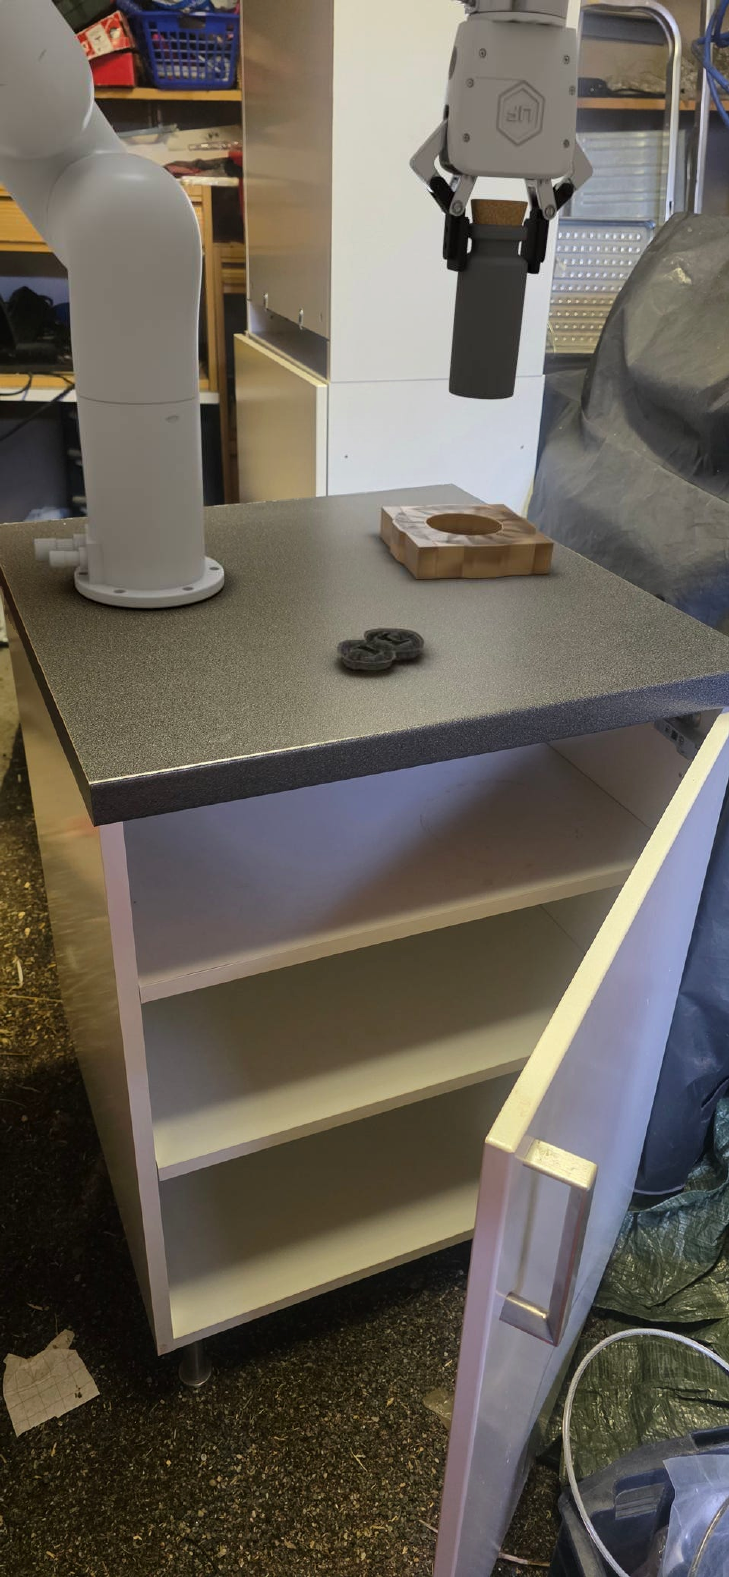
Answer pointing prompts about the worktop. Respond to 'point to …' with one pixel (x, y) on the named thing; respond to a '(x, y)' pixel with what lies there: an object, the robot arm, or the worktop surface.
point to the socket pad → (464, 541)
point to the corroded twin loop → (380, 648)
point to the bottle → (490, 303)
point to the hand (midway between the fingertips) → (492, 269)
